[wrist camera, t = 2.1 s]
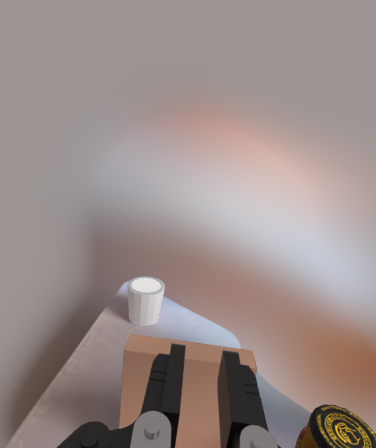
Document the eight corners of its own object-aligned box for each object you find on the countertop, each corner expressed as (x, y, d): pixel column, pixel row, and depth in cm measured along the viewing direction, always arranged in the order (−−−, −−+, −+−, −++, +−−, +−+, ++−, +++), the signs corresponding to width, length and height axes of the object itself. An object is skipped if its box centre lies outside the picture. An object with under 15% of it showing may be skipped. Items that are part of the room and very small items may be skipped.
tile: (231, 478, 27) (257, 368, 24) (117, 461, 28) (123, 350, 24) (229, 454, 30) (252, 350, 26) (123, 439, 30) (130, 333, 26)
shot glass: (158, 305, 55) (161, 275, 54) (164, 327, 49) (168, 293, 47) (124, 308, 53) (126, 276, 51) (127, 330, 47) (129, 295, 45)
